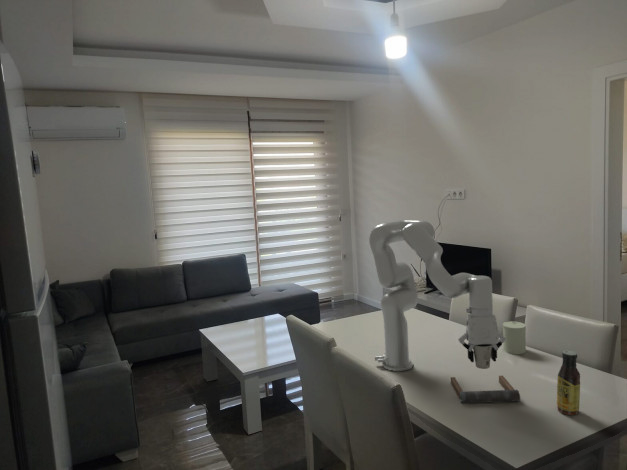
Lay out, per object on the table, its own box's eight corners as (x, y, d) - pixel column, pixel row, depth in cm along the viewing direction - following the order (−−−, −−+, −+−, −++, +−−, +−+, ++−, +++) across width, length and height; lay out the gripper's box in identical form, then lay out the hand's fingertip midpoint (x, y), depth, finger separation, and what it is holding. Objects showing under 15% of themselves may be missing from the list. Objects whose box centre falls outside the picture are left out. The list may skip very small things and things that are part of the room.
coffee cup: (495, 370, 151) (494, 342, 150) (473, 370, 153) (473, 342, 152) (491, 362, 158) (490, 335, 157) (470, 362, 159) (470, 335, 158)
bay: (462, 404, 148) (462, 394, 148) (450, 383, 164) (450, 374, 164) (520, 403, 147) (520, 392, 147) (503, 382, 163) (502, 372, 162)
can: (524, 347, 194) (524, 320, 193) (527, 355, 186) (527, 327, 184) (502, 345, 197) (501, 319, 196) (503, 353, 189) (503, 326, 187)
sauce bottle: (552, 407, 143) (552, 348, 141) (570, 405, 144) (570, 347, 141) (565, 418, 137) (565, 356, 134) (584, 415, 137) (585, 354, 135)
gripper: (458, 315, 150) (460, 365, 152) (510, 313, 149) (511, 363, 151) (453, 309, 158) (454, 357, 159) (502, 307, 156) (503, 355, 158)
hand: (482, 360), depth 155 cm, fingers closed on coffee cup, 7 cm apart
